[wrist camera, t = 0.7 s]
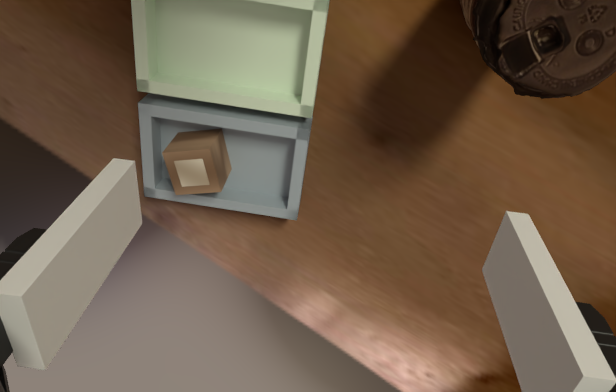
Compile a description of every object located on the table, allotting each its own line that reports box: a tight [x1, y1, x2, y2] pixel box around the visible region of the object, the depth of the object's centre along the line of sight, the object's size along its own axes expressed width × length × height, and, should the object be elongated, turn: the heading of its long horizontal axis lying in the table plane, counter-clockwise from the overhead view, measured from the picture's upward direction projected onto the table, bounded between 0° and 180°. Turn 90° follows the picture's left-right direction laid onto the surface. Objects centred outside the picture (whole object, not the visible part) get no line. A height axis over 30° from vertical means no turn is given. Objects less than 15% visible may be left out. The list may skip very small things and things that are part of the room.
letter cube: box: [162, 128, 232, 195], centre depth 40 cm, size 4×4×4 cm
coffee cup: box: [460, 0, 616, 99], centre depth 28 cm, size 9×8×13 cm
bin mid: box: [131, 0, 330, 118], centre depth 36 cm, size 9×14×3 cm, turn 82°
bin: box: [138, 93, 313, 220], centre depth 41 cm, size 9×14×3 cm, turn 82°
